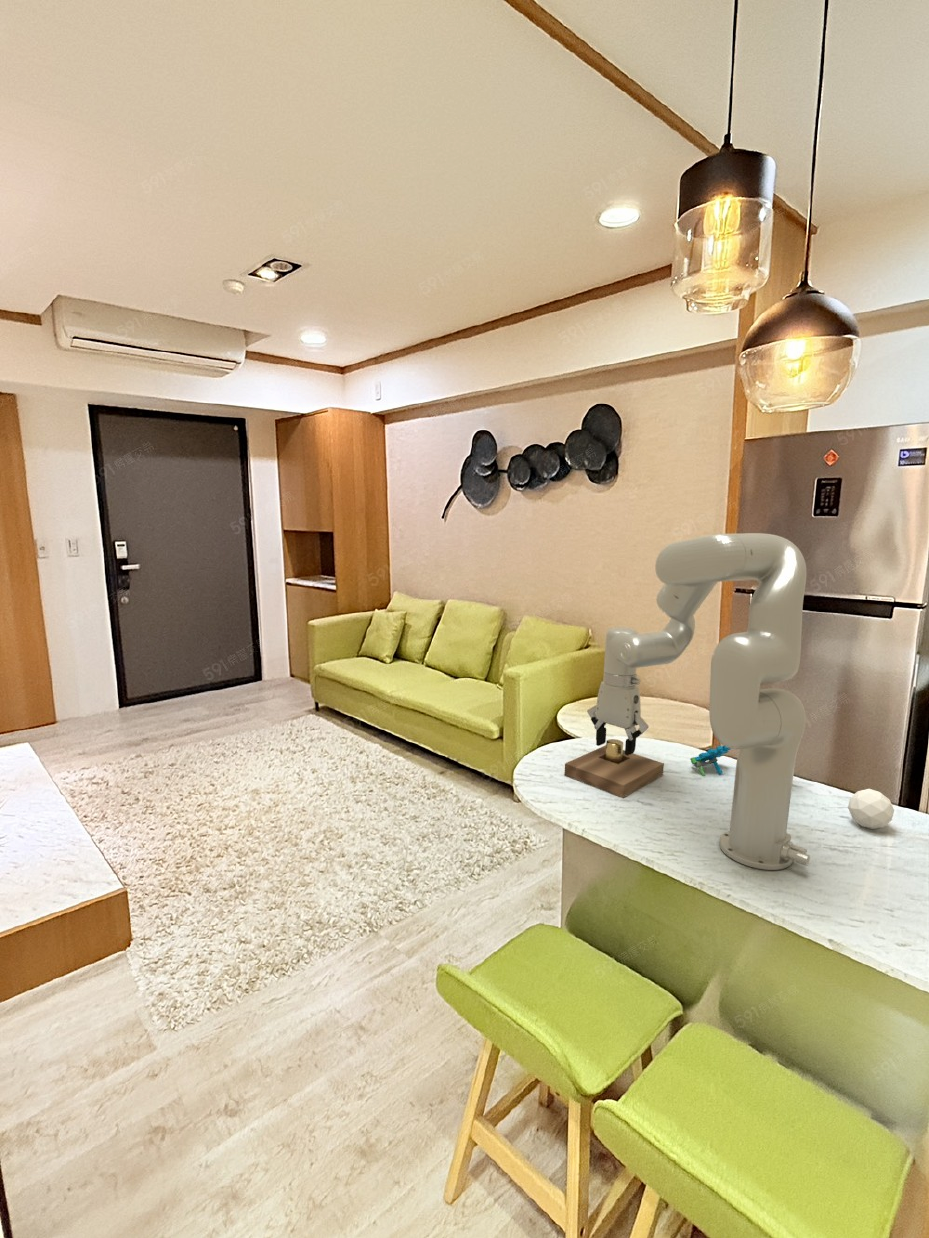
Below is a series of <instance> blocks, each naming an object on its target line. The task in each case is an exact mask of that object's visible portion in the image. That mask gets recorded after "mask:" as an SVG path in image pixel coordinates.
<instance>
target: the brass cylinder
mask: <svg viewBox="0 0 929 1238" xmlns="http://www.w3.org/2000/svg"><path fill="white" fill-rule="evenodd" d="M605 744H606V757H605V760H607V761H610V762H613V763H616V764H619V763H622V755H623V750H624V742H623V741H622V740H620V739H613V738H612V739H606V742H605Z"/></svg>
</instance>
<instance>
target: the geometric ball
mask: <svg viewBox="0 0 929 1238" xmlns="http://www.w3.org/2000/svg"><path fill="white" fill-rule="evenodd" d="M847 808H848V811H849V814H850V816H851V818H852V819H853V820H854V821H855V822H856V823H858V824H859V825H860V826H862V827H865V828H868V829H871V830H875V829H880V828H885V827H886V826H887V825H888V824H890V822H891V821H893V817H894V813H895V808H894V806H893V804H892V802H891V799H889V798H888V797H887V796H886V795H884V794H883V793H882V792H880V791H877V790H875V789H871V788H866V789H862V790H858V791H856V792H855V793H853V795H851V797H850V798H849V802H848V805H847Z"/></svg>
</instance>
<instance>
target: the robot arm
mask: <svg viewBox="0 0 929 1238" xmlns="http://www.w3.org/2000/svg"><path fill="white" fill-rule="evenodd" d="M654 570H655V573H656V577H657V579H658V580H659V581H660V582H661V583H663V585H662V586H661V588H660V590H659V591H658V592H657V595H656V598H655V599H656V604H657V606H658V608H659V610H661V611H662V613H664V614H665V615H666V616H667V617H669V618H670V620H669V621H668V623H667V624H666V626H665V627H664V628H663V629H662V630H661V631H657V632H645V633H638V631H637V630H636V629H633V628H631V627H621V626H619V627H612V628H609V629H608V630H607V632H606V635H605V648H604V649H605V651H604V661H603V662H604V666H603V679H602V681H601V682H600V685H599V689H598V693H597V699H596V705H594V706H592V707H590V708H589V709H587V711H586V712H587V714H588V716H589V717H590V720H591V722H592V724H593V725H594V729H595V730H596V731H595V732H596V733H595V740H596V743H595V745H596V746H598V747H600V746H601V745H604V744H606V741H607V728H606V725H607V724H608V725H611V726H614V727H618V728H620V729H624V731H625V733H626V736H627V738H626V739H625V743H624V744H625V747H624V750H625V755H627V756H628V755H630V754H632V753H634V754H635V751H636V745H637V744H636V743H637V739H638V738H639V737H640V736H642V735H643V734H644V733H645V731H647V729H649V725H648V722H646V721H645V720H644V719H643V718H642V716H641V715H642V714H641V708H642V707H641V706H642V704H641V693H640V687H639V685H640V684H641V679H640V678H638V677H637V669H639V668H647V667H653V666H660V665H661V666H662V665H668V664H671V663H673V662H674V661H676V660H677V659H679V657H680V656H682V654H683V653H684V651H685V650H686V649H687V647H688V646H689V645H690V644H691V642H692V640H693V637H694V634H695V629H696V628H695V627H696V621H695V617H694V616H695V614H696V613H697V611H698V609H699V608H700V607H701V605H703V603H704V602H705V600H706V598H707V597H708V596H709V595H710V593H711V592H712V591H713V589H714V588H715V586H716V585H717V583H718V582H719V583H721V582H734V581H735V582H736V581H738V582H739V581H740V582H741V581H752V580H754V581H758V585H757V587H756V589H755V590H754V593H753V594H752V597H751V599H750V603H749V607H748V608H749V610H748V625H747V629H746V631H743V632H735V633H731V634H729V635H727V636H725V637H723V638H722V639H721V640H720V641H719V642H718V644H716V646H715V648H714V651H713V654H712V656H711V661H710V675H709V676H710V678H709V679H710V681H709V708H708V711H709V713H708V715H709V723H710V725H709V726H710V728H711V731H712V733H713V736H714V737H715V739H716V740H717V742H719V744H721V746H726V747H728V748H731V749H730V750H739V751H738V754H737V759H736V763H735V764H736V765H735V766H736V767H735V773H734V774H735V775H734V784H733V793H732V794H733V795H732V804H731V811H730V812H731V814H730V822H729V830H727V831H725V832H723V833H722V834H721V835H720V836H719V841H718V842H719V843H718V844H719V847H720V849H721V851H722V852H723V853H724V854H725V855H726V856H728V857H729V858H730V859H732V860H733V861H735V862H737V863H739V864H741V865H745V866H747V867H751V868H754V869H757V870H767V871H772V870H773V871H778V870H783V869H786V868H788V867H790V866H792V864H793V862H795V863H798V864H800V865H803V866H805V867H807V866H808V865H809V863H810V860H811V859H810V858H811V856H810V855H809V854H807V848H805V847H803V846H798V845H796V844H794V842H792V834H790V833H788V832H787V829H788V821H789V813H790V806H791V798H792V789H793V782H794V777H795V776H794V774H795V766H796V760H797V757H798V751H799V747H800V744H801V742H802V740H803V737H804V733H805V729H806V723H807V713H806V710H805V707H804V705H803V703H802V701H801V700H800V698H798V696H796V694H794V693H793V692H791V691H788V690H786V689H782V688H775V687H774V688H773V687H772V688H762V689H761V686H764V685H765V686H766V685H770V684H777V683H782V682H784V681H787V680H788V681H789V680H791V679H792V678H794V676H795V675H796V674H797V673H798V671H799V668H800V662H801V653H802V635H803V634H802V633H803V607H804V606H803V605H804V597H805V590H806V584H807V564H806V560H805V558H804V555H803V553H802V552H801V550H800V548H799V547H798V546H797V545H796V544H794V543H793V542H792V541H790V540H789V539H787V538H785V537H783V536H780V535H777V534H770V533H758V532H755V533H754V532H752V533H751V532H748V533H745V532H743V533H716V534H710V535H705V536H700V537H699V536H698V537H695V538H692V539H685V540H680V541H675V542H671V543H669V544H667V545H666V546H664V548H662V550H660V552H659V553H658V555H657V557H656V560H655V569H654ZM637 685H638V686H637ZM637 726H639V728H638V729H637V728H636V727H637Z"/></svg>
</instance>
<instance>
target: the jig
mask: <svg viewBox="0 0 929 1238" xmlns="http://www.w3.org/2000/svg"><path fill="white" fill-rule="evenodd" d="M605 757H606V745H603V746H601V747H599V748H596V749H594V750H592V751H589V752H587V753H585V754H583V755H581V756H579V757H576V758H574V759H573V760H569V761H568V762H566V763H564V776H566V777H568V778H571V779H573V780H576V781H578V782H581V783H583V782H584V783H583V784H586V785H587V786H591V787H594V788H596V789H599V790H601V791H604V792H606V793H609V794H611V795H614V796H617V797H620V798H621V799H624V798H626V797H627V796H630V795H631V794H632V793H634V792H636V791H637V790H640V789H642V787H645V786H647V785H648V784H650V783H651V782H654V781H655V780H657V779H658V778H660V777H662V776H663V775H664V769H665V768H664V767H665V766H664V765H665V763H664V762H660V761H658V760H654V759H651V758H648V757H645V756H643V755H639V754H637V753H635V752H634V753H632V754H630V755H628V756H627V755H625V749H623V755H622V763H619V764H616V763H613V762H610V761H607V760H605Z"/></svg>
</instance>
